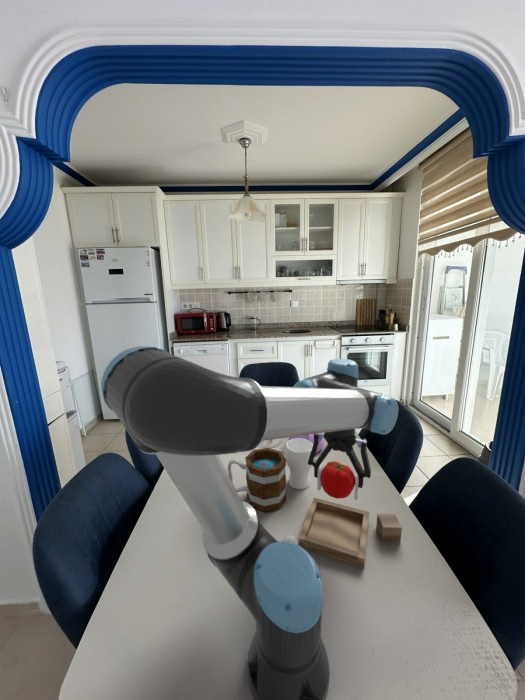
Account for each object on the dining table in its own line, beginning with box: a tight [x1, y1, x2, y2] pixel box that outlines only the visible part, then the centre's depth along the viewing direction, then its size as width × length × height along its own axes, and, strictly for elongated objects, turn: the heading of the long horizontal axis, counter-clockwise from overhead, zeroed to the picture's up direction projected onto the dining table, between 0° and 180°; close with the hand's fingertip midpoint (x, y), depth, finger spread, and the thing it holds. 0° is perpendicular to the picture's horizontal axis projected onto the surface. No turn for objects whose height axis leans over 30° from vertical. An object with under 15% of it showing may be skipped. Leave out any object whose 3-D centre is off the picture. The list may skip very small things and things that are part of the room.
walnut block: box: [375, 513, 403, 544], centre depth 85 cm, size 5×5×5 cm
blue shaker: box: [282, 534, 299, 545], centre depth 76 cm, size 4×4×9 cm
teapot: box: [288, 434, 325, 453], centre depth 131 cm, size 22×16×12 cm
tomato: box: [321, 459, 356, 499], centre depth 83 cm, size 9×10×8 cm
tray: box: [298, 497, 370, 570], centre depth 86 cm, size 17×17×3 cm
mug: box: [227, 447, 287, 514], centre depth 100 cm, size 20×14×15 cm
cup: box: [284, 438, 316, 490], centre depth 107 cm, size 11×11×15 cm
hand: (337, 491), depth 84 cm, fingers closed on tomato, 9 cm apart
